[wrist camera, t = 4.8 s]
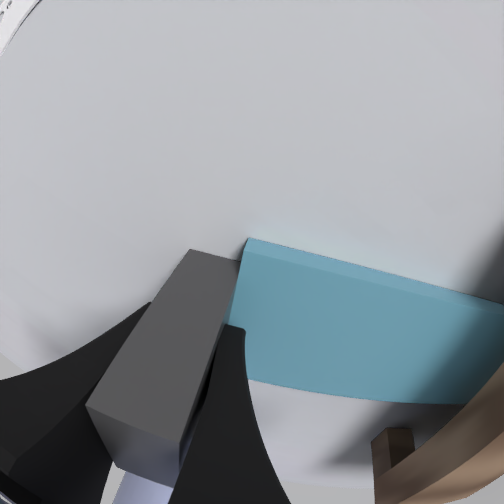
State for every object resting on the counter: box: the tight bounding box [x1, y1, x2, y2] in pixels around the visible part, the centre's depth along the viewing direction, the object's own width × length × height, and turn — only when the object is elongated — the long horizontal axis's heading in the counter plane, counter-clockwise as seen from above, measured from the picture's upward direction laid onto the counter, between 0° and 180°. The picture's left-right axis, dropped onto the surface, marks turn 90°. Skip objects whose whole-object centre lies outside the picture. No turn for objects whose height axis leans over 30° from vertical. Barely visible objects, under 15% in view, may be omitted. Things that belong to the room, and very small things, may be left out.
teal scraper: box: [85, 238, 504, 488], centre depth 8 cm, size 6×23×7 cm, turn 79°
